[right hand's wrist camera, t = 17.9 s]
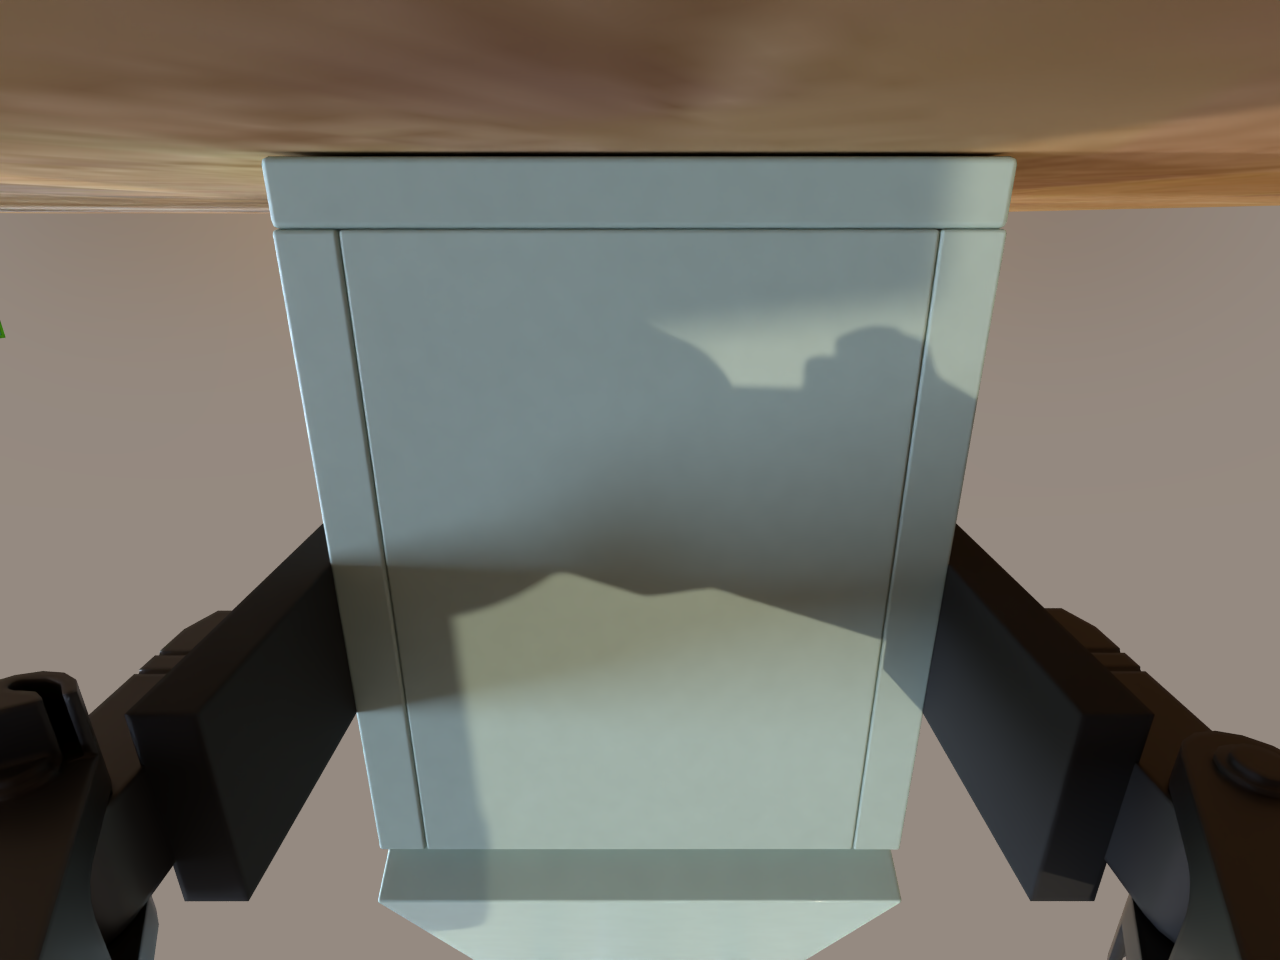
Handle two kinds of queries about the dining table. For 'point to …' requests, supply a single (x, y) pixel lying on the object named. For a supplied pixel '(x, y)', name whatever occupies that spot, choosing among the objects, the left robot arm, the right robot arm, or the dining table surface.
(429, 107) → the dining table surface
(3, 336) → the toy car
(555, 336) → the chest
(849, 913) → the lid
